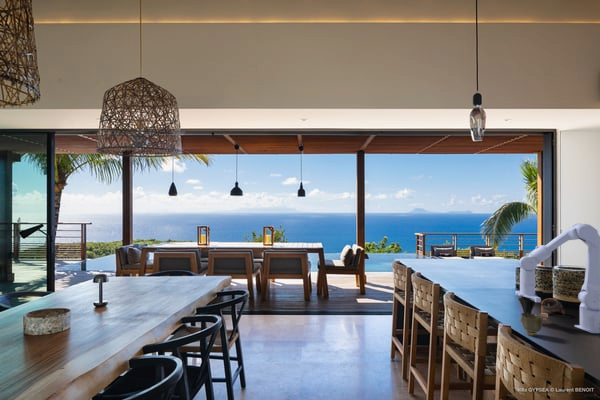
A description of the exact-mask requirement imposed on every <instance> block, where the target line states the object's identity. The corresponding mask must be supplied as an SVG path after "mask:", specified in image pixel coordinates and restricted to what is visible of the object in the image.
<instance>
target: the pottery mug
mask: <svg viewBox="0 0 600 400" xmlns="http://www.w3.org/2000/svg"><path fill="white" fill-rule="evenodd" d="M540 304H541V307H540V311H541V312H540V313H561V314H562V316H563V315H564V316H565V315H566V314H565V313H566V312H565V310H564V309H563V308H564V307H563V304H562V303H561V302H559V301H558V299H556V298H550V297H549V298H545V299H544V300H541V302H540Z"/></svg>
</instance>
